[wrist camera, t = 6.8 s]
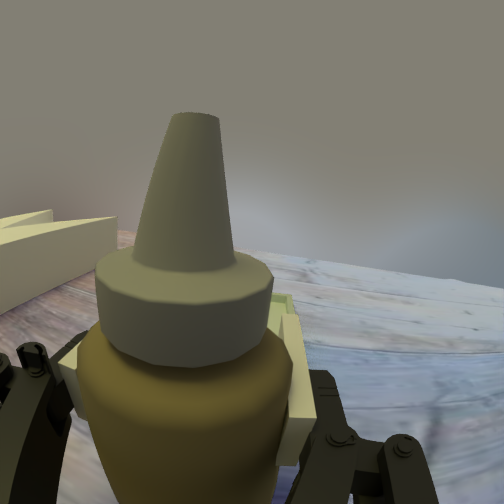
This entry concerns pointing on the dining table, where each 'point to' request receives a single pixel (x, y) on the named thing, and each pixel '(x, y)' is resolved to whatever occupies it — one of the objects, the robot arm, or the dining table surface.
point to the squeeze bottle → (185, 344)
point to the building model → (48, 253)
